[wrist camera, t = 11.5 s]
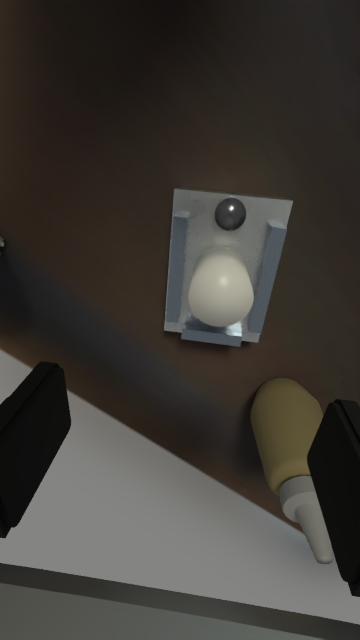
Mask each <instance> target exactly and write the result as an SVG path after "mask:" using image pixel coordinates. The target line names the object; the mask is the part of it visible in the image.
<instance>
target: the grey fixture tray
mask: <svg viewBox="0 0 360 640" xmlns="http://www.w3.org/2000/svg"><path fill="white" fill-rule="evenodd" d="M292 203H293V201H292V200H290V199H288V198H286V197H276V196H266V195H257V194H247V193H237V192H227V191H218V190H208V189H198V188H189V187H179V186H178V187H176V188H174V198H173V212H172V226H171V240H170V254H169V269H168V283H167V297H166V311H165V325H164V330H165V331H172V332H180V333H182V336H181V339H185V340H193V341H200V342H208V343H215V344H223V345H231V346H238V347H240V345H241V341H249V342H256V343H258V340H259V336H260V334H261V331H262V327H263V323H264V319H265V315H266V311H267V307H268V303H269V299H270V295H271V291H272V287H273V283H274V279H275V275H276V271H277V268H278V264H279V260H280V256H281V252H282V248H283V244H284V240H285V236H286V232H287V228H286V227H287V223H288V219H289V215H290V211H291V207H292ZM216 247H225V248H229V249H232V250H234V251H236V252H237V253H238V254H239V255H240V256H241V257H242V258H243V260H244V262H245V264H246V268H247V271H248V275H249V278H250V282H251V285H252V289H253V294H254V299H253V304H252V307H251V309H250V311H249V313H248V314H247V315H246V316H245V317H244V318H243V319H242V320H241V321H239V322H237V323H235V324H233V325H230V326H225V327H216V326H211V325H208V324H205V323H204V322H202V321H201V320H199V319H198V318H197V317H196V316H195V315H194V313H193V312H192V310H191V308H190V305H189V299H188V296H189V289H190V285H191V280H192V276H193V271H194V267H195V264H196V262H197V260H198V258H199V257H200V256H201V255H202V254H203V253H204V252H206V251H208V250H210V249H212V248H216Z"/></svg>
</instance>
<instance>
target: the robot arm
mask: <svg viewBox="0 0 360 640" xmlns="http://www.w3.org/2000/svg"><path fill="white" fill-rule="evenodd" d="M70 426H71V417H70V410H69V403H68V397H67V390H66V383H65V376H64V370H63V369H62V368H60V367H59V365H58V364H57V363H50V362H40V363H38V365H37V366H36V367H35V368H34V369H33V370H32V371H31V373H30V374H29V375H28V376H27V377H26V378H25V380H24V381H23V382H22V383H21V384H20V385H19V386H18V388H17V389H16V390H15V391H14V392H13V393H12V394H11V395H10V396H9V397H8V398H6V399H5V400H4V401H3V402H2V404H1V405H0V538H6V536H7V534H8V532H9V531H10V529H11V527H16V526H17V525H18V523H19V522H20V520H21V518H22V516H23V515H24V513H25V511H26V509H27V507H28V505H29V503H30V502H31V500H32V498H33V496H34V494H35V492H36V490H37V489H38V487H39V485H40V483H41V481H42V479H43V478H44V476H45V474H46V472H47V470H48V469H49V467H50V465H51V463H52V461H53V459H54V457H55V456H56V454H57V452H58V450H59V448H60V446H61V445H62V442H63V441H64V439H65V437H66V435H67V434H68V432H69V429H70ZM307 464H308V468H309V471H310V475H311V478H312V482H313V485H314V488H315V492H316V495H317V498H318V502H319V505H320V508H321V512H322V515H323V518H324V522H325V525H326V528H327V532H328V535H329V538H330V542H331V545H332V548H333V552H334V555H335V559H336V562H337V565H338V569H339V572H340V575H341V577H342V579H343V580H344V581H346V582H348V585H349V588H350V591H351V594H352V596H357V597H360V407H359V405H358V404H357V403H356V402H355V401H348V400H340V399H336V400H335V401H334V402H333V403H329V405H328V407H327V409H326V411H325V414H324V416H323V418H322V421H321V423H320V426H319V428H318V430H317V433H316V435H315V437H314V440H313V442H312V444H311V447H310V449H309V451H308V454H307ZM0 640H360V625H359V624H353V623H349V622H343V621H339V620H333V619H328V618H323V617H318V616H312V615H307V614H301V613H295V612H289V611H283V610H278V609H272V608H267V607H261V606H255V605H250V604H243V603H238V602H233V601H227V600H221V599H215V598H209V597H204V596H198V595H192V594H186V593H180V592H174V591H168V590H162V589H156V588H151V587H145V586H139V585H133V584H126V583H121V582H115V581H109V580H103V579H97V578H91V577H85V576H79V575H73V574H67V573H61V572H54V571H49V570H43V569H36V568H29V567H23V566H16V565H9V564H2V563H0Z"/></svg>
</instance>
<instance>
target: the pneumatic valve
mask: <svg viewBox="0 0 360 640" xmlns="http://www.w3.org/2000/svg"><path fill="white" fill-rule="evenodd" d="M3 240H4V239H3V238H2V237H1V236H0V247H4V244H5V243H4V242H3ZM0 255H1V252H0Z"/></svg>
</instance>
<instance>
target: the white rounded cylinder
mask: <svg viewBox="0 0 360 640" xmlns="http://www.w3.org/2000/svg"><path fill="white" fill-rule="evenodd" d="M188 299H189V305H190V308H191V310H192V312H193V313H194V315H195V316H196V317H197V318H198V319H199V320H201V321H202V322H204V323H205V324H208V325H211V326H216V327H225V326H230V325H233V324H235V323H237V322H239V321H241V320H242V319H243V318H244V317H245V316H246V315H247V314H248V313H249V311H250V309H251V307H252V304H253V299H254V294H253V289H252V285H251V282H250V278H249V275H248V271H247V268H246V264H245V262H244V260H243V258H242V257H241V256H240V255H239V254H238V253H237V252H236V251H234V250H232V249H229V248H225V247H216V248H212V249H210V250H208V251H206V252H204V253H203V254H202V255H201V256H200V257H199V258H198V260H197V262H196V264H195V267H194V271H193V276H192V280H191V285H190V289H189V296H188Z"/></svg>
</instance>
